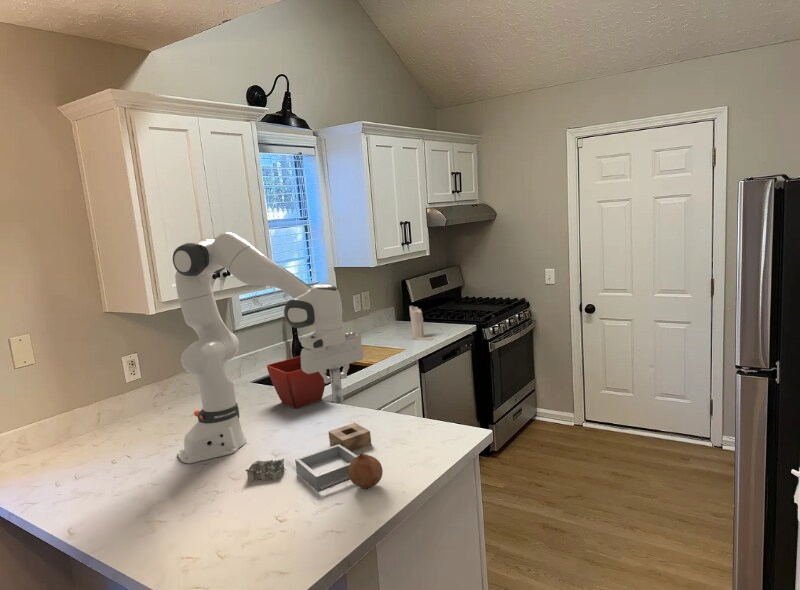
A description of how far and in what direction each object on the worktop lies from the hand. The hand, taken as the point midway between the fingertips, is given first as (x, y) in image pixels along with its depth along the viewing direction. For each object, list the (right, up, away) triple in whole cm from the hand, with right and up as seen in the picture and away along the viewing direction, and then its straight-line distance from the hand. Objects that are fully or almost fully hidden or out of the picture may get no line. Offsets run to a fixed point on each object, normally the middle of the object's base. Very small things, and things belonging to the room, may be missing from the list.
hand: (335, 380), depth 167 cm
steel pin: (+1, -7, +1) cm, 7 cm away
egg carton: (-20, -28, -3) cm, 35 cm away
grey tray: (-1, -27, -7) cm, 27 cm away
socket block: (+4, -24, +10) cm, 26 cm away
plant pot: (-21, -19, +60) cm, 67 cm away
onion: (+11, -27, -17) cm, 34 cm away
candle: (+34, 0, +154) cm, 157 cm away
